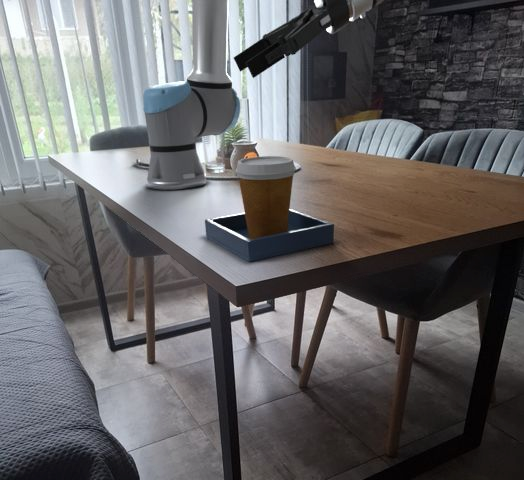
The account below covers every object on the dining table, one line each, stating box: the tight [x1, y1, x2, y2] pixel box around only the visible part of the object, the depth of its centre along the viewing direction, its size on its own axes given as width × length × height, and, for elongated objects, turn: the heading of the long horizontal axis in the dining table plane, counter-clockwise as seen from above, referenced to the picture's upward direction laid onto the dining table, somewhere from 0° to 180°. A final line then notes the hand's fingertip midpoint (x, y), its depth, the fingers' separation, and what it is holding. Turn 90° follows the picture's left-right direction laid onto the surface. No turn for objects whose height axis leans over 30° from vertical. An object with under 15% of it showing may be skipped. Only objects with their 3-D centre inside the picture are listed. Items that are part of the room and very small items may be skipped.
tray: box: [204, 208, 335, 263], centre depth 80 cm, size 16×16×3 cm
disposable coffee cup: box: [234, 155, 297, 239], centre depth 78 cm, size 10×10×12 cm
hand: (242, 67), depth 91 cm, fingers open, 13 cm apart
